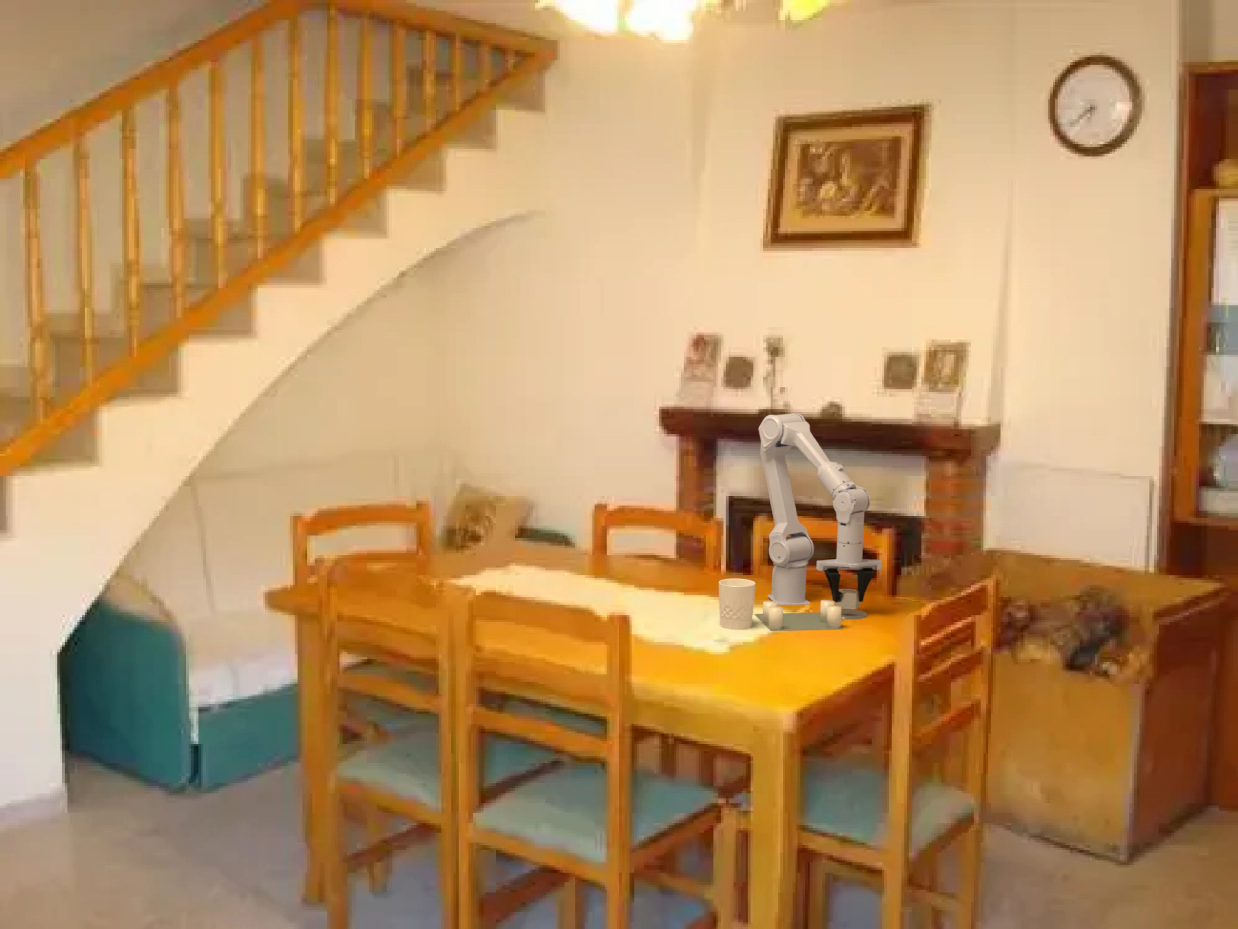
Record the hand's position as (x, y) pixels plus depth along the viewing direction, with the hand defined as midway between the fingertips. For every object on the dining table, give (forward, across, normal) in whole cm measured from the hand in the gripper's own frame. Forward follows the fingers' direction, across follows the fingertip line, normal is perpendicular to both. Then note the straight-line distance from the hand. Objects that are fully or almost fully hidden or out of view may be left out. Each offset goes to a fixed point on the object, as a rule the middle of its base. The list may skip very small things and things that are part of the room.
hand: (847, 601), depth 317 cm
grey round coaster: (+3, 0, 0) cm, 3 cm away
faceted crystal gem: (+1, 0, 0) cm, 1 cm away
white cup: (+4, -28, -8) cm, 29 cm away
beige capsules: (+3, -13, -9) cm, 16 cm away
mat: (+3, -13, -6) cm, 15 cm away
